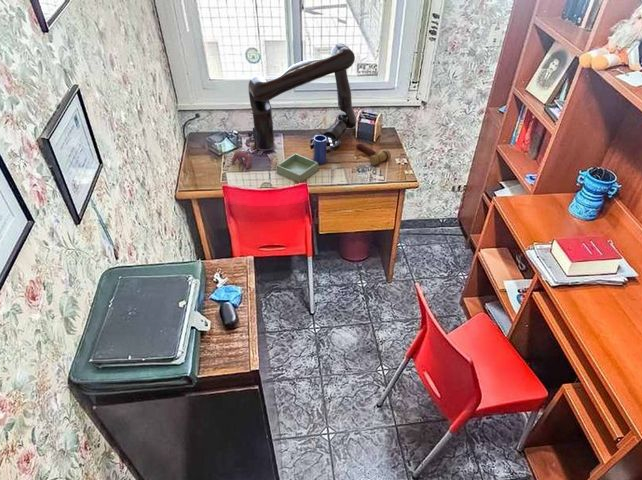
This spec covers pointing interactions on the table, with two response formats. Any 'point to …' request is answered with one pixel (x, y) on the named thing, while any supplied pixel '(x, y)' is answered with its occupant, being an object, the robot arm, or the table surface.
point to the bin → (297, 167)
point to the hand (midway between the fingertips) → (319, 149)
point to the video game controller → (240, 156)
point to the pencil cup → (320, 149)
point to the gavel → (375, 154)
